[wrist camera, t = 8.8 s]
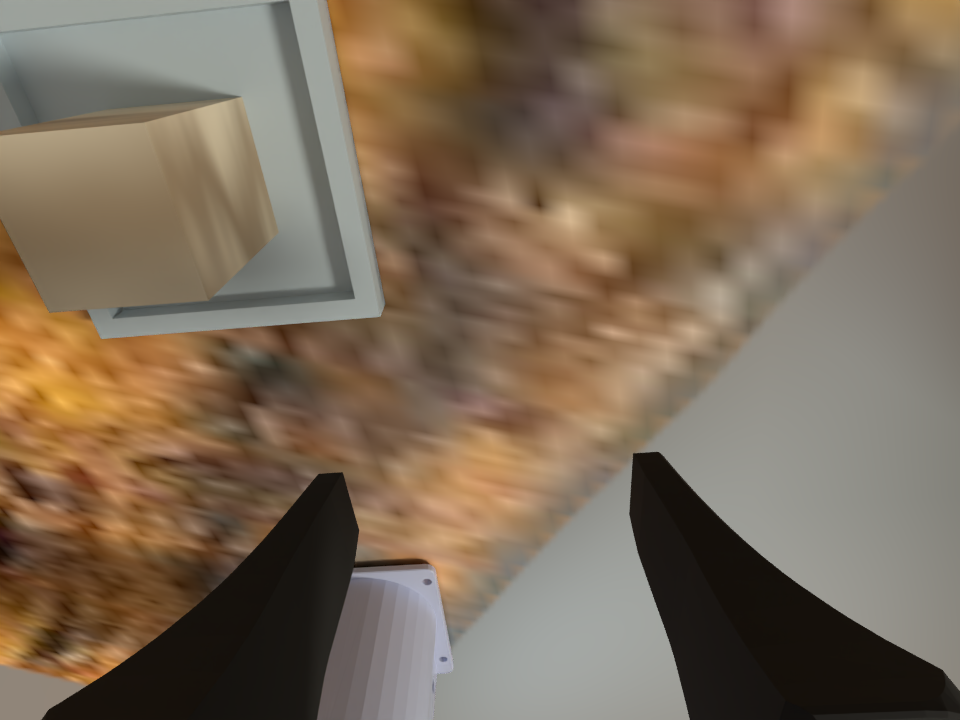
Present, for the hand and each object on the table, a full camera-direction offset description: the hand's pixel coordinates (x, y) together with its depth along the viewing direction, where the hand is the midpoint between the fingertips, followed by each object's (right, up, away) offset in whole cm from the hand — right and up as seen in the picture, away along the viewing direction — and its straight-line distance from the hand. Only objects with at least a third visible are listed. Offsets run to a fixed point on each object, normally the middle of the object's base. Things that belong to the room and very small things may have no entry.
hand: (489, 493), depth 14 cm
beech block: (-10, +10, +5) cm, 15 cm away
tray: (-10, +10, +6) cm, 15 cm away
